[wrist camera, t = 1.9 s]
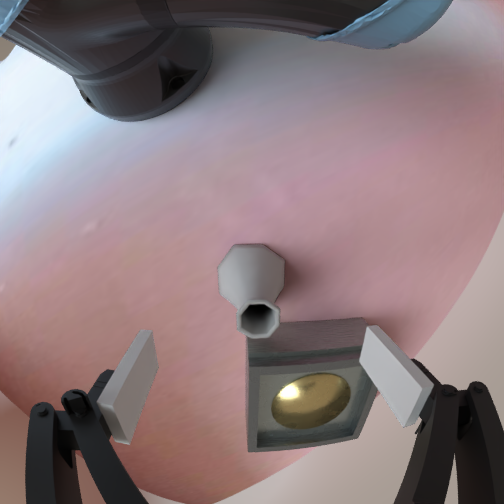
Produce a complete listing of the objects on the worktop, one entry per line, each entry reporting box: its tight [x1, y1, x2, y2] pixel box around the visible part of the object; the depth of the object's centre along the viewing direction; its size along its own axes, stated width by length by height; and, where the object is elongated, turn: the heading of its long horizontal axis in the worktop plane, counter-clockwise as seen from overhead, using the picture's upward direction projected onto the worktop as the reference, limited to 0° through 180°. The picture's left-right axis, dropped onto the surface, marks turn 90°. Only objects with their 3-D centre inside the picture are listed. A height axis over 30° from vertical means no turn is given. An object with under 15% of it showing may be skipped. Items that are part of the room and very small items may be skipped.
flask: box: [218, 244, 285, 339], centre depth 23 cm, size 7×7×10 cm
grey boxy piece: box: [246, 318, 378, 452], centre depth 28 cm, size 15×14×8 cm
